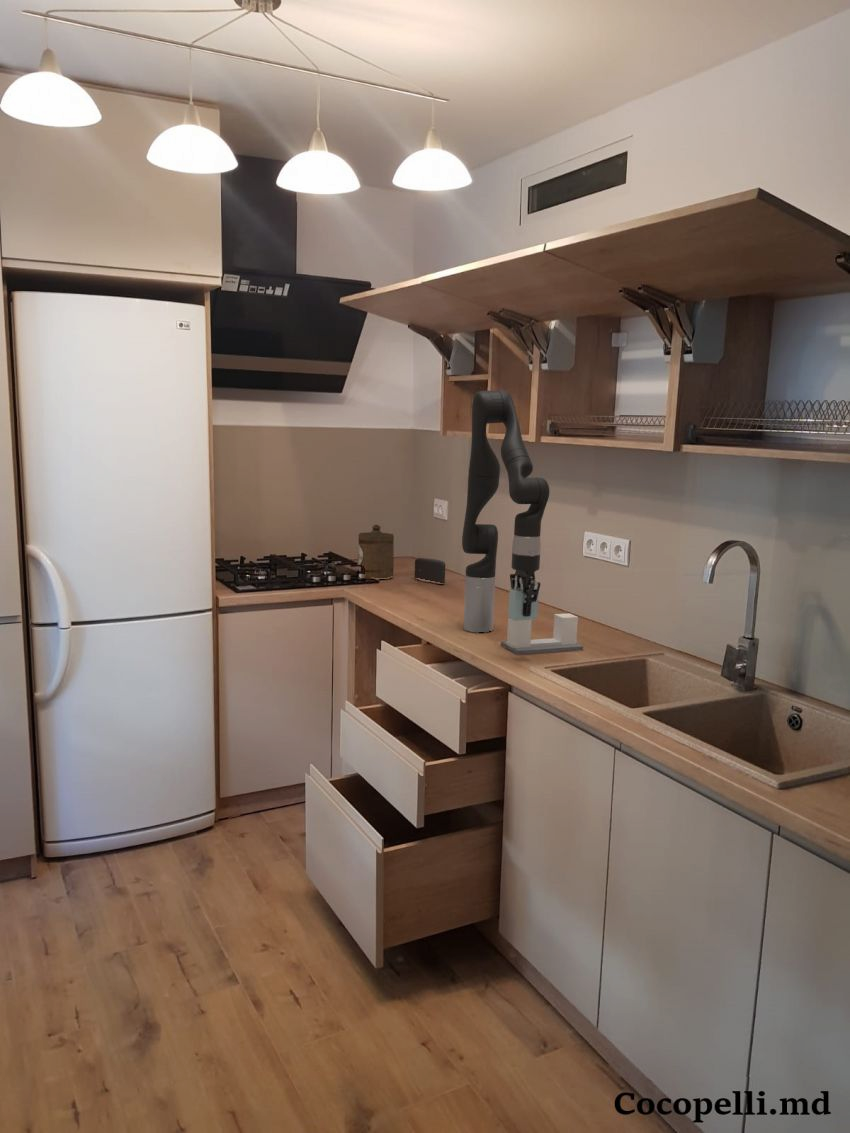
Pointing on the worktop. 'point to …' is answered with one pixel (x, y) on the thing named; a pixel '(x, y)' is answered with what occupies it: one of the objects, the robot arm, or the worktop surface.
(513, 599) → the block
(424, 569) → the upright dark grey panel
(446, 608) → the worktop surface
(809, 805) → the worktop surface
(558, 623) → the board
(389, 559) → the wooden container
